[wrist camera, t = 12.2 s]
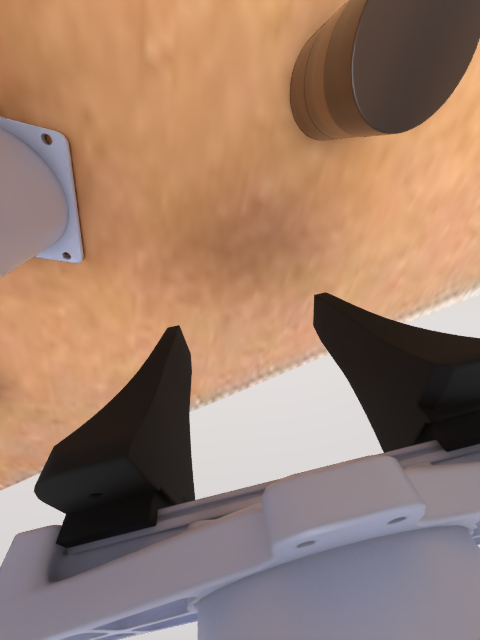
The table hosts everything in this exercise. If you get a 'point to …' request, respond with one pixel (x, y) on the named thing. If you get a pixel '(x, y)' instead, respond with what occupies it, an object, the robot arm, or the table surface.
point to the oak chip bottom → (298, 93)
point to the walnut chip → (397, 62)
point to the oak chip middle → (322, 81)
